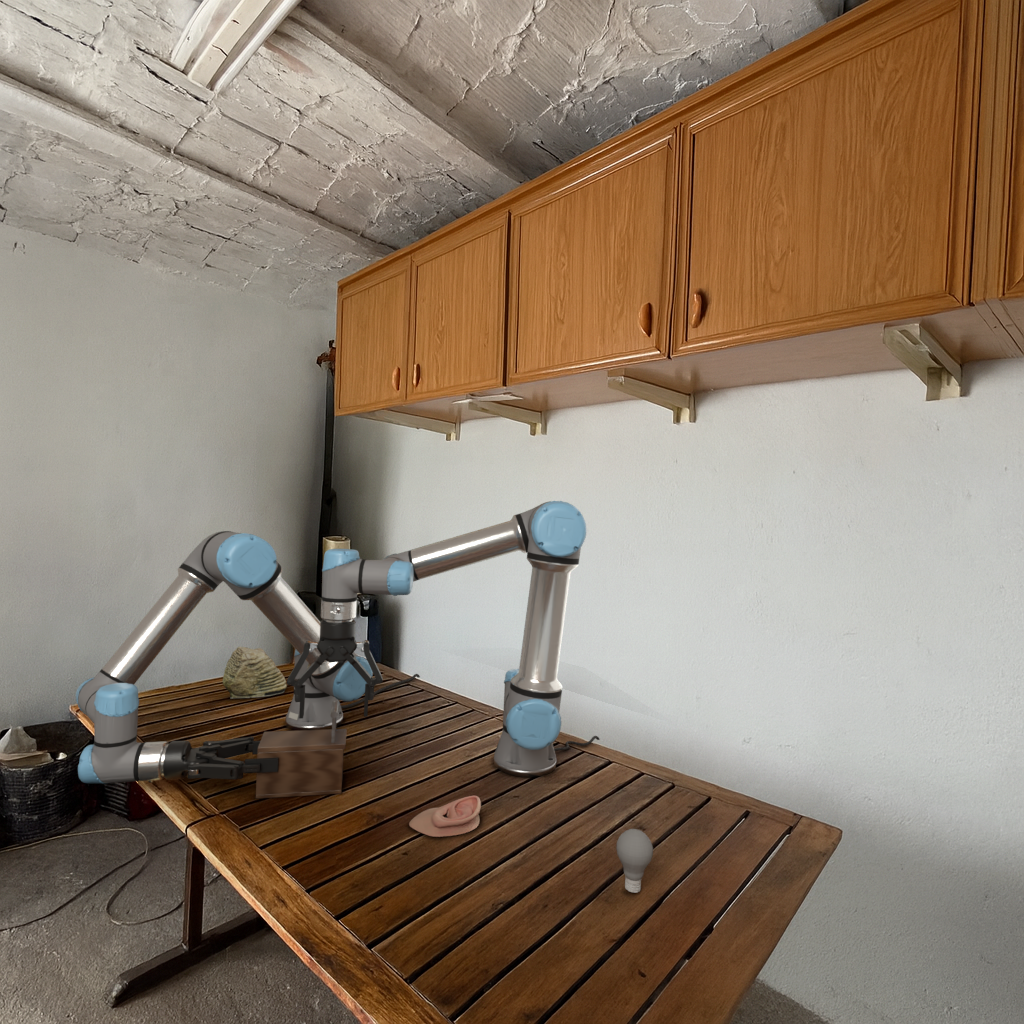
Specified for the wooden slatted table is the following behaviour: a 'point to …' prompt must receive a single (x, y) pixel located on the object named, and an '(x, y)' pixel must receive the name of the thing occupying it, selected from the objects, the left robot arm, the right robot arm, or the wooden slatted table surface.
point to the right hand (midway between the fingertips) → (333, 715)
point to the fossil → (252, 674)
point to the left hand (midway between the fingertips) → (281, 755)
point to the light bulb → (634, 857)
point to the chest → (302, 773)
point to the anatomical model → (449, 818)
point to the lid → (305, 738)
